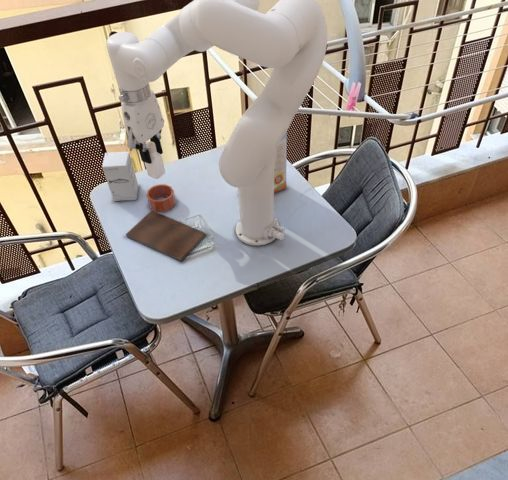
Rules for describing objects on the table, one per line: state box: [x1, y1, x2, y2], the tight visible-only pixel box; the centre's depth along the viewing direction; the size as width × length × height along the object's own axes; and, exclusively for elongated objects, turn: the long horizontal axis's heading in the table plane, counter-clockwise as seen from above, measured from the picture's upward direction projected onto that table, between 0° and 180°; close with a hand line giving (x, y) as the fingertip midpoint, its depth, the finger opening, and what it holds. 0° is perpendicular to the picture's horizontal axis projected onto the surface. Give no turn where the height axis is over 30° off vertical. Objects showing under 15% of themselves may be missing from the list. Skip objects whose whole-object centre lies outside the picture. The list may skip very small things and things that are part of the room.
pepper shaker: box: [143, 140, 166, 180], centre depth 130 cm, size 4×4×10 cm
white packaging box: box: [101, 150, 139, 202], centre depth 141 cm, size 7×7×13 cm
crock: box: [146, 183, 177, 213], centre depth 141 cm, size 8×8×4 cm
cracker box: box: [274, 130, 288, 194], centre depth 136 cm, size 14×6×21 cm, turn 118°
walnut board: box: [125, 210, 207, 262], centre depth 134 cm, size 20×12×1 cm, turn 58°
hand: (152, 156), depth 129 cm, fingers closed on pepper shaker, 4 cm apart
